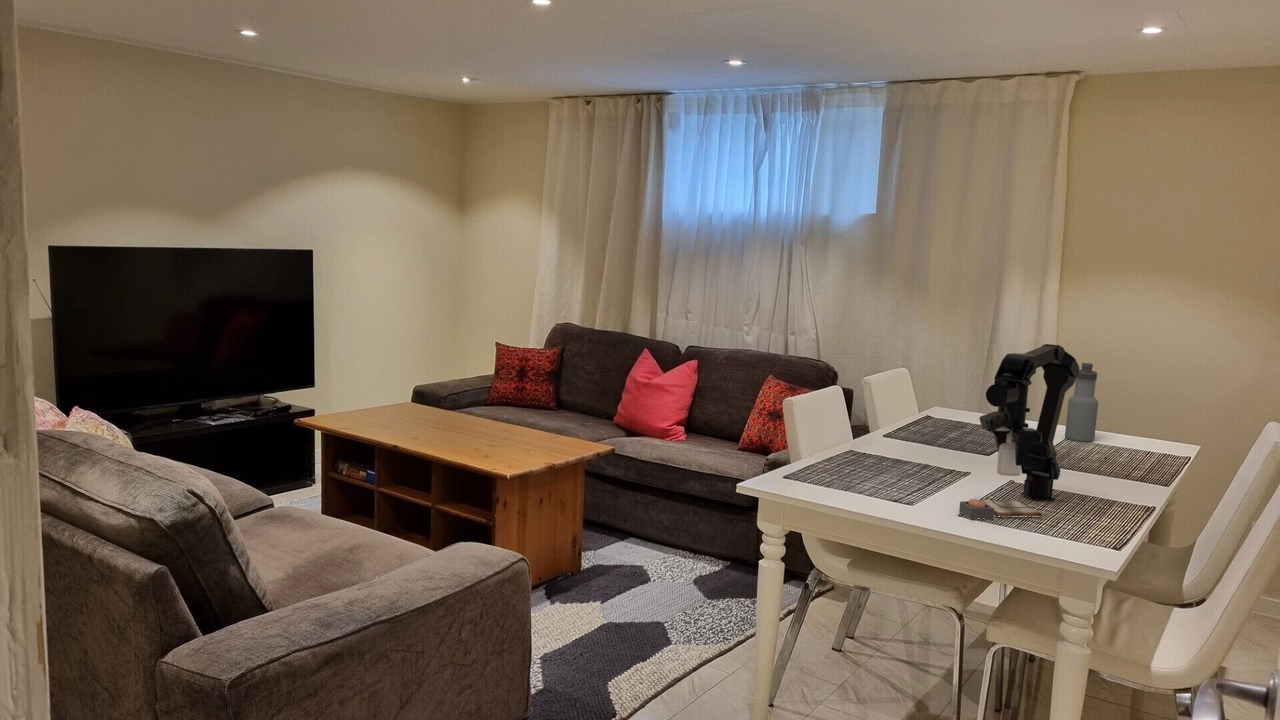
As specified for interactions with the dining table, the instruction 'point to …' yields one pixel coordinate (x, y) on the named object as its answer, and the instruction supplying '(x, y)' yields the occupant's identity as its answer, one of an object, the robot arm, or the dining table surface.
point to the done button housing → (976, 511)
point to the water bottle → (1082, 407)
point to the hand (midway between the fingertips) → (1009, 461)
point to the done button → (976, 503)
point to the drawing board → (1012, 508)
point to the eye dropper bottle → (1007, 458)
